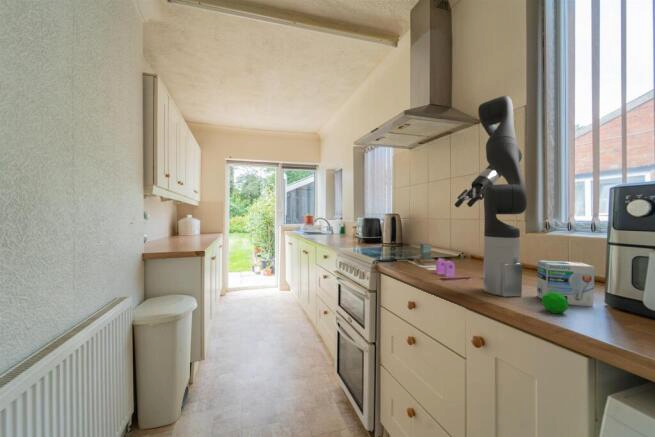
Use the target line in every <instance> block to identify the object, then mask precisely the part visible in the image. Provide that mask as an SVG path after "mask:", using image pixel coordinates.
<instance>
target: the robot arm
mask: <svg viewBox="0 0 655 437" xmlns="http://www.w3.org/2000/svg"><path fill="white" fill-rule="evenodd" d="M477 111H478V113H477V114H478V118H479V122H480V124H481V126H482V128H484V130H485V132H486V134H487V135H488V136H489V137H488V139H487V142H486V144H485V155H486V160H487V163H488V166H487V167H486V168H485V169H484V170H482V172H481V173H479V174H478V175H477V176H476V177H475V179H474V180H472V182H471V184H470V185H471V188H469V189H464V190H463V192H461V193H460V194H459V195H458V196H457V197H456V198H457V199H458V200H457V201H456V202H455V203H454V206H455V207H456V208H460V207H461V206H462V205H463V203H464V202H465V201H467V203H466V205H467V207H469V208H471V207H473V206H474V204H476V203H477V202H478V201H482V200H483V209H484V211H483V213H484V215H483V216H484V228H483V229H484V232H483V234H484V235H483V237H484V238H483V278H482V279H483V282H482V283H483V291H484V293H488V294H492V295H495V296H496V295H497V296H501V297H506V298H507V297H520V296H522V294H523V293H522V292H523V291H522V290H523V289H522V288H523V263H520V246H521V245H520V242H521V240H520V238H521V237H520V236H521V229H520V228H519V227H517V226H514V225H510V224H507V223H505V222H503V221H502V220H500V219H499V218H498V217H497V215H521V214H524V212H525V211H526V210H527V205H528V197H527V190H526V186H525V182H524V179H523V175H522V171H521V170H522V169H521V165H520V164H521V163H520V162H521V160H522V158H523V157H522V156H523V154H522V152H521V150H520V148H519V146H518V140H517V134H516V130H515V119H514V118H515V117H514V116H515V115H514V114H515V113H514V103H513V100H512V98H511V97H510V96H508V95H503V96H498V97H496V98H495V97H494V98H493V99H490V100H486V101H485V102H483V103H481V104H479V105H478V110H477ZM501 176H502V177H503V178H504V180H505V181H506V183H505V184H504V183H503V184H502V183H501V184H500V183H499V184H496V183H497V181H498V180H499V179H500V178H501Z"/></svg>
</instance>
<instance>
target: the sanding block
mask: <svg viewBox="0 0 655 437" xmlns="http://www.w3.org/2000/svg"><path fill="white" fill-rule="evenodd" d="M431 247H432V244H431V243H419V257H413V261H414V262H415V263H418V264H421V265H423V266H436V262H437V261H438V260H435V259H432V258H431V256H432V248H431Z"/></svg>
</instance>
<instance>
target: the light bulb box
mask: <svg viewBox="0 0 655 437" xmlns="http://www.w3.org/2000/svg"><path fill="white" fill-rule="evenodd" d="M595 269H596V268H595V266H593V265H590V264H587V263H584V262H580V261H578V262H577V261H560V260H559V261H557V260H556V261H555V260H539V259H538V260H537V278H536V279H537V280H536V282H537V283H536V287H537V288H536V296H537V297H538V298H540V299H541V300H542V298H543V296H544V295H545V294H546V293H549V292H556V293H560V294H561V295H563V296H564V297H565V298H566V300H567V302H568V306H570V305H571V306H581V307H590V306H593V307H594V294H595V293H594V292H595V271H596V270H595Z"/></svg>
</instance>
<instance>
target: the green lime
mask: <svg viewBox="0 0 655 437" xmlns="http://www.w3.org/2000/svg"><path fill="white" fill-rule="evenodd" d="M541 303H542V305H543V307H544V308H545V310H546V311H549V312H551V313H552V312H553V314H562V313H565V312H566V311H567V310H568V308H569V304H568V302H567V300H566V298H565V297H564V296H563V295H561V294H560V293H556V292H549V293H546V294H545V295H544V296H543V298H542V299H541Z"/></svg>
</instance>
